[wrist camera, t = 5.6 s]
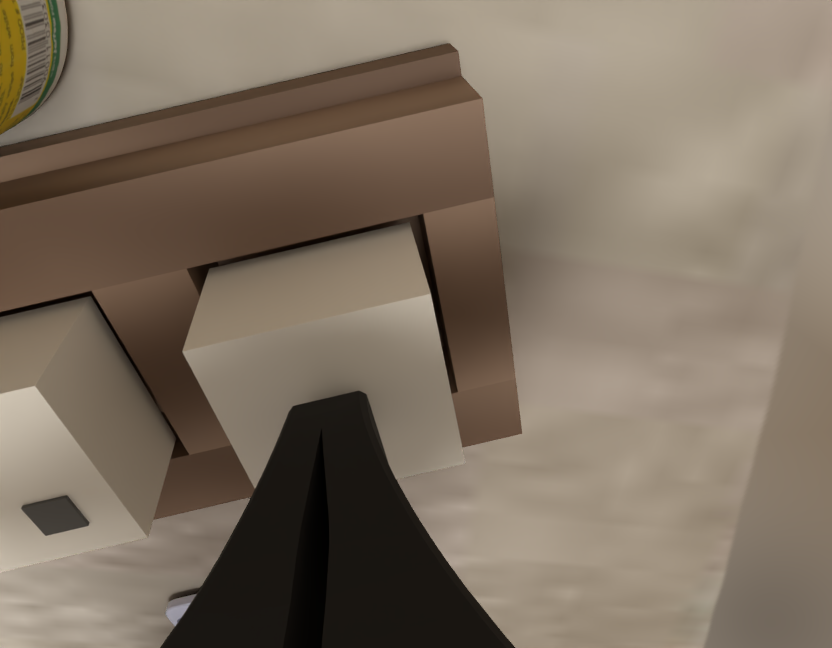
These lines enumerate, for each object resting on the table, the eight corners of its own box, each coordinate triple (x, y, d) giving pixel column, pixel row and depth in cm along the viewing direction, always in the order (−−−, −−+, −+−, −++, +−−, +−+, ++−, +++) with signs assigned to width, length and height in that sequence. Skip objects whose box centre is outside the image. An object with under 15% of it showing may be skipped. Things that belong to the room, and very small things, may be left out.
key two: (176, 437, 15) (147, 540, 13) (8, 477, 15) (-55, 588, 13) (90, 296, 13) (33, 388, 10) (-111, 342, 13) (-219, 447, 10)
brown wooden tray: (496, 378, 19) (523, 445, 16) (-175, 534, 19) (-250, 626, 16) (449, 43, 13) (479, 70, 11) (-515, 265, 13) (-708, 345, 11)
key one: (442, 376, 15) (466, 466, 13) (274, 415, 15) (265, 513, 13) (409, 222, 13) (431, 296, 10) (209, 268, 13) (181, 354, 10)
